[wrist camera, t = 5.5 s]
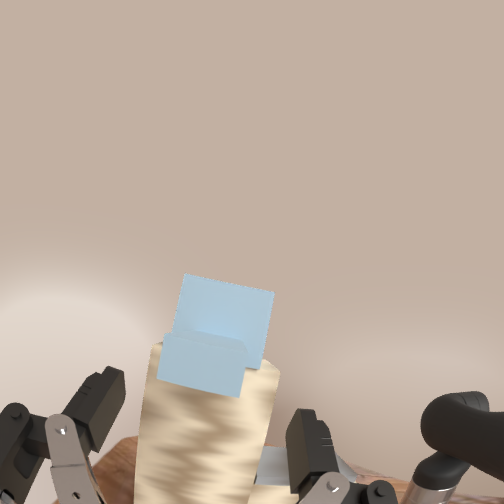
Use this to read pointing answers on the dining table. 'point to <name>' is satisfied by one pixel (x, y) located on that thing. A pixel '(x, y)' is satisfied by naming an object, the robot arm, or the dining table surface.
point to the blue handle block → (215, 335)
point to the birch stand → (211, 444)
